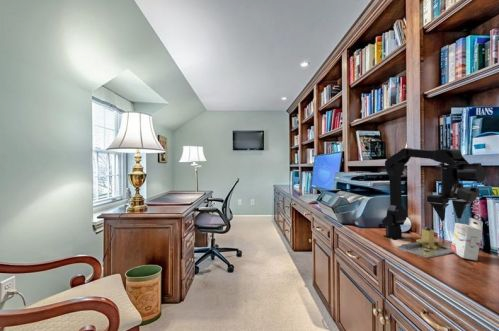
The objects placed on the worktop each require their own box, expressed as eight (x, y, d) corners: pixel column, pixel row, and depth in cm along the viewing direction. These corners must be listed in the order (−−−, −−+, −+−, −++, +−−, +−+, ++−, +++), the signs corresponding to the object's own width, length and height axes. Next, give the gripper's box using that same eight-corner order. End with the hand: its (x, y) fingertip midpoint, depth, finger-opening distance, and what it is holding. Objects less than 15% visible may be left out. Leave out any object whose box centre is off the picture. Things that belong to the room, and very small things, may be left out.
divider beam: (400, 247, 108) (400, 241, 108) (431, 242, 113) (431, 236, 113) (417, 252, 100) (417, 246, 100) (449, 247, 106) (448, 241, 106)
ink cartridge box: (449, 250, 101) (455, 214, 101) (463, 253, 100) (469, 217, 100) (462, 258, 93) (469, 219, 92) (477, 261, 92) (485, 222, 91)
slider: (416, 244, 110) (415, 225, 110) (421, 243, 111) (420, 225, 111) (433, 249, 103) (432, 229, 103) (438, 248, 104) (438, 228, 104)
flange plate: (397, 248, 109) (397, 246, 109) (429, 243, 114) (429, 241, 114) (426, 258, 96) (426, 256, 96) (460, 251, 102) (460, 250, 102)
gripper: (455, 182, 89) (456, 226, 89) (490, 180, 94) (491, 221, 94) (425, 180, 100) (426, 219, 100) (458, 179, 105) (459, 216, 105)
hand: (450, 219), depth 99 cm, fingers open, 9 cm apart
